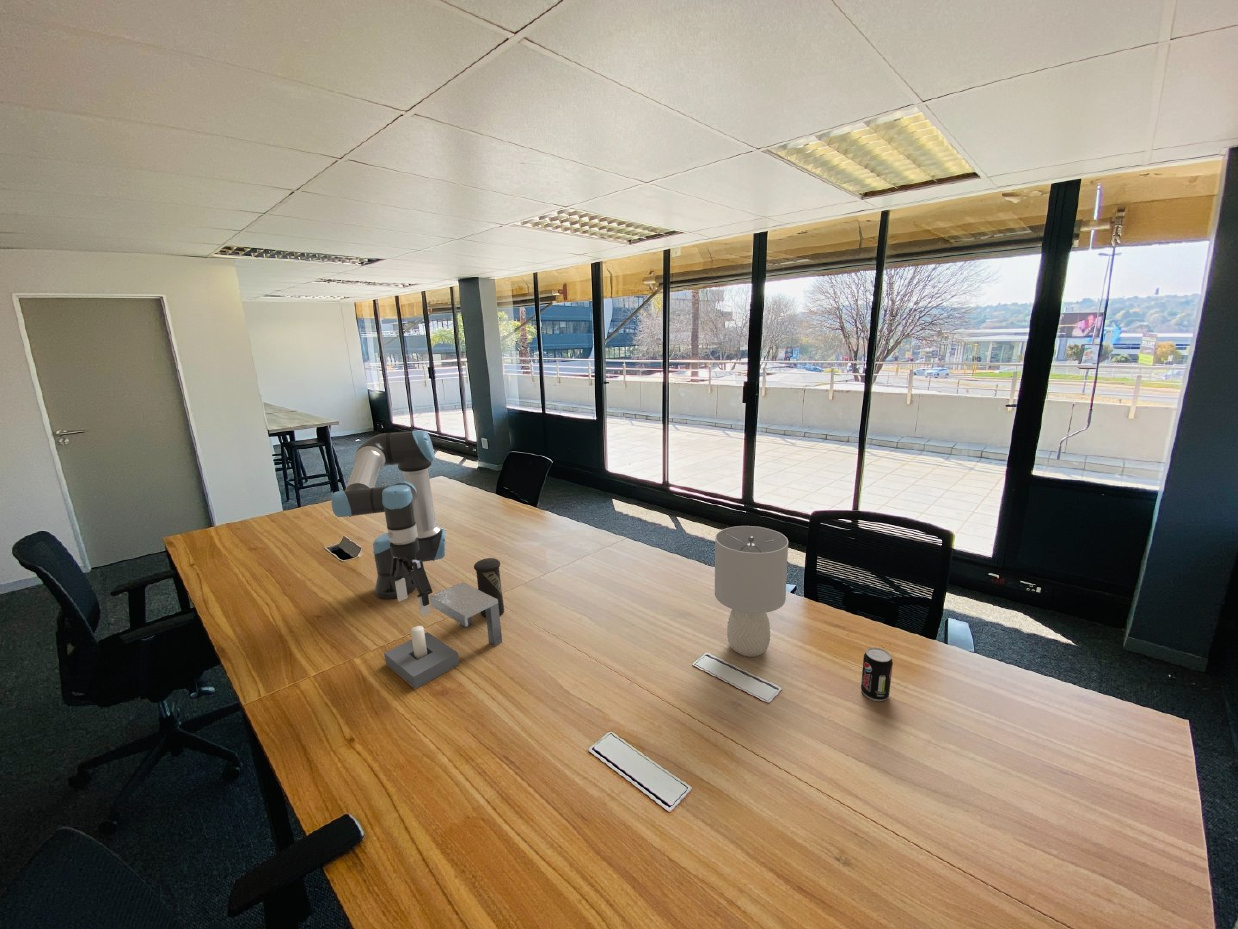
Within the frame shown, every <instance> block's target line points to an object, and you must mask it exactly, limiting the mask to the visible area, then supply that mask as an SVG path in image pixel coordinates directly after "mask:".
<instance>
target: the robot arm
mask: <svg viewBox="0 0 1238 929" xmlns="http://www.w3.org/2000/svg"><path fill="white" fill-rule="evenodd" d="M435 457H436V455H435V451H434V447H433V442H432V439H431V436H430V434H429V433H428V432H427V431H426V430H409V431H399V432H397V431H396V432H386V433H385V432H384V433H379V434H377V435H374V436H372V437H370V438H368V439H367V440H366V441H364V442H363V443H362V444H361V445H360V446H359V447H358V448H357V450H356V452H355V454H354V463H355V464H354V466H353V468H352V471H351V474H350V477H349V480H348V483H346V484H347V485H346V488H345V490H344V489H342V490H339V491H335V492H333V493H332V495H331V499H330V500H331V502H330V503H331V509H332V512H333V515H334V516H335V517H337V518H344V517H347V518H351V517H355V516H356V517H357V516H363V515H371V514H379V513H380V514H381V513H384V515H385V521H386V529H387V532H386V533H384V534H381V535H379V536H377V538H375V539H374V541H373V542H372V547H373V548H372V549H373V551H372V552H373V555H374V562H375V567H376V572H377V578H376V583H375V586H374V592H375V596H376V597H377V598H379V599H384V600H391V599H397V601H398V602H399V603H400V602H403V601H405V600H406V599H408V597H409V596H408V595H409V594H410V593H412V592H413V591H415V590H416V591H417V593H418V595H417V599H418V600H417V601H418V606H419V613H420V617H421V618H422V617H425V616H428V615H430V614H431V613H432V611H431V601H430V595H432V593H433V590H432V587H431V584H430V581H429V579H428V575H427V573H426V570H425V567H424V563H423V562H431V561H433V562H435V561H438V560H442V559H443V558H444V557H445V556H446V529H443V528H442V527H441V525H440V524H439V523H438V522H437V521H436V520H437V519H436V515H435V514H436V513H435V507H434V500H433V493H432V487H431V482H430V480H431V479H430V473H429V469H430V468H431V467H432V466H433V465H432V462H434V461H435V460H436V458H435ZM386 466H397V468H398V470H399V472H402V473H403V477H404V481H397V482H396V483H395V484H393V485H385V486H378V487H376V484H377V480H378V476H379V472H380V470H381V469H382V468H384V467H386Z"/></svg>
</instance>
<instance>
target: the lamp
mask: <svg viewBox="0 0 1238 929" xmlns="http://www.w3.org/2000/svg"><path fill="white" fill-rule="evenodd" d="M788 550H789V540H788V537H786V536H785V535H784V534H783V533H782V532H779V531H776V530H773V529H770V528H766V527H762V526H755V525H754V526H752V525H751V526H750V525H740V526H739V525H738V526H732V527H730V526H729V527H727V528H724V529H721V530H719V531H718V532H717V533H715V538H714V597H715V599H716V600H717V601H718V602H719V603H720V604H722V605H723V606H725V607H727V608H729V609H730V610H731V611H730V613H729V615H728V621H727V627H726V636H727V637H726V638H727V642H728V645H729V647H730V648H731V649H732V650H733V651H734V652H735V653H737V654H739V655H741V656H743V657H744V656H745V657H749V658H751V657H754V658H755V657H758V656H760V655H762V654H764V653H765V652H767V650H768V648H769V646H770V641H771V625H770V620H769V616H768V614H767V613H772V612H775V611H776V610H778V609H781V608H782V607H783V606H784V605H785V603H786V601H787V600H786V595H787V594H786V593H787V580H788V579H787V577H788V576H787V575H788V574H787V573H788V554H789V551H788Z"/></svg>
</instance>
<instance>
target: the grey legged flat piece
mask: <svg viewBox="0 0 1238 929" xmlns="http://www.w3.org/2000/svg"><path fill="white" fill-rule="evenodd" d="M429 601H430V607H432V608H434V609H435V610H437V611H439V612H440V613H442V614H444V615H445V616H448V617H449V618H450V619H452V620H454V621H456V622H458V623H459V627H462V628H463V629H467V628H469V627H470V626H472V625H473V620H472V618H473V616H475V615H477V614H480V612H481V611H483V610H485V612H486V618H485V620H486V627H487V630H486V631H487V636H488V644H489V645H491V646H493V647H496V646H498V645H499V644H502V643H503V636H502V626H501V615H499V606H498V599H496V598H494V597H492V596H490V595H488V594H486V593H484V592H482V591H480V590H478V588H475V587H474V586H472V585H470V584H469V583H468V584H467V583H466V582H464V581H461V582H459V583H457V584H455V585H452V586H450V587H448V588H445V589H443V590H440V591H438V592H437V593H436V592H435V593H434V594H430V595H429Z"/></svg>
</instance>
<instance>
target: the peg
mask: <svg viewBox="0 0 1238 929" xmlns="http://www.w3.org/2000/svg"><path fill="white" fill-rule="evenodd" d="M424 628H425V627H424V626H423V625H416V626H414V627H411V629H410V636H411V640H412V643H413V650H414V656H415V659H416V660H419V659H421V658H423V657H424V656H426V655H428V654H427V648H426V641H425V634H424V633H425V629H424Z"/></svg>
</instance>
